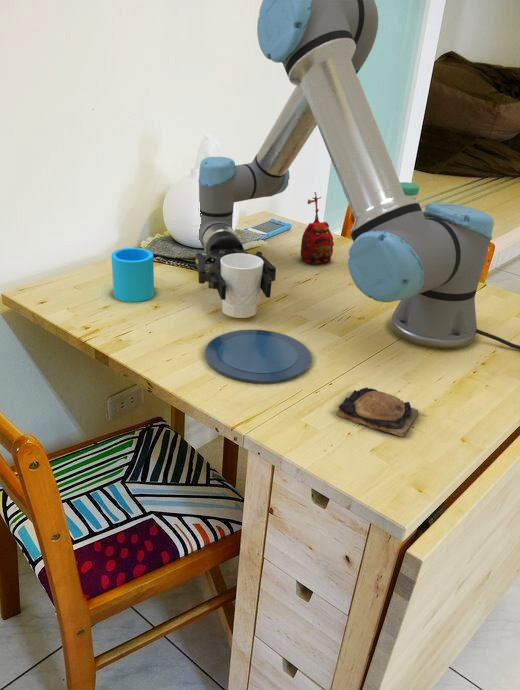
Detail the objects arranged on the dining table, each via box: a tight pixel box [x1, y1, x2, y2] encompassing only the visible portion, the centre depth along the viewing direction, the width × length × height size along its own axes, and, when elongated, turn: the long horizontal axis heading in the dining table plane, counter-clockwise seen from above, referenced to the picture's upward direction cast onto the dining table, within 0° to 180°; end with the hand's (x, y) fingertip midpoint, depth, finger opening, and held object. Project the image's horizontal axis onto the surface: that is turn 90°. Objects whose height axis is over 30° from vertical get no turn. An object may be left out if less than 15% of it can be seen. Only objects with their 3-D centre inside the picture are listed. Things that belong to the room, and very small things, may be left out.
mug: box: [110, 247, 155, 303], centre depth 130 cm, size 12×8×8 cm
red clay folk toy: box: [300, 191, 335, 265], centre depth 147 cm, size 8×7×15 cm
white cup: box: [221, 253, 264, 319], centre depth 121 cm, size 8×8×10 cm
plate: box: [204, 329, 312, 385], centre depth 111 cm, size 18×18×1 cm
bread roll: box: [336, 386, 420, 438], centre depth 96 cm, size 11×8×4 cm
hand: (246, 291), depth 117 cm, fingers closed on white cup, 8 cm apart
